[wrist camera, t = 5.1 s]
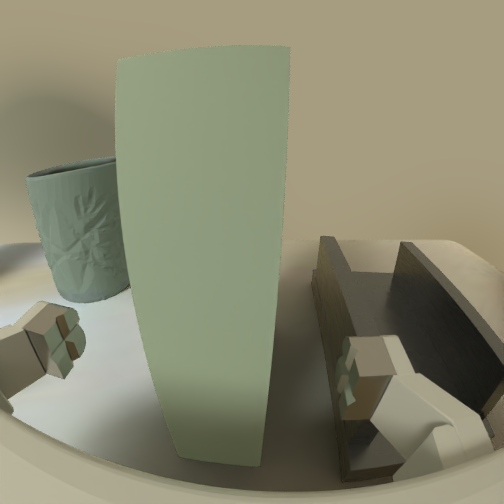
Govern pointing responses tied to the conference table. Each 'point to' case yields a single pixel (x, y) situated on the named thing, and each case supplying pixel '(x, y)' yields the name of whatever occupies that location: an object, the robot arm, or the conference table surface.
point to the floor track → (403, 342)
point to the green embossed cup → (81, 228)
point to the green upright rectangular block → (205, 234)
